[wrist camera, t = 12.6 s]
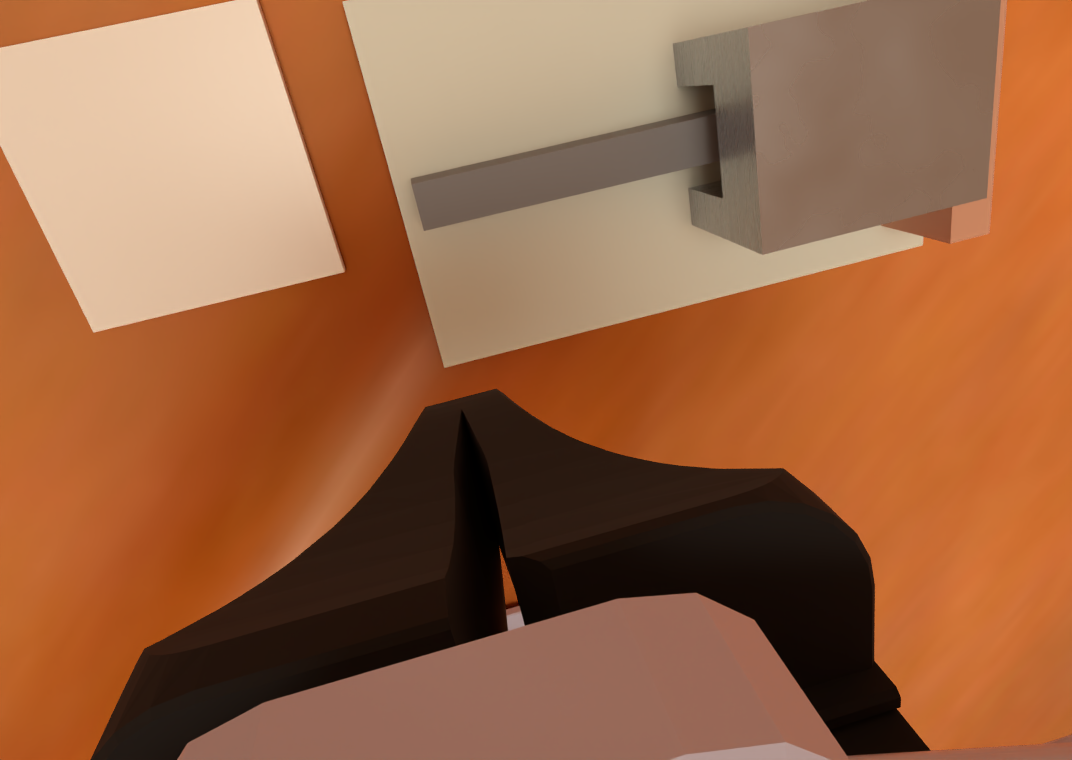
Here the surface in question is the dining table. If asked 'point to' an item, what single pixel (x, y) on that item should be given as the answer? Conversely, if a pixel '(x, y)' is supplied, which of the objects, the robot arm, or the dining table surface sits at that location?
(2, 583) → the dining table surface
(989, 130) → the clip
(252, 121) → the pad
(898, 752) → the robot arm
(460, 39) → the rail board
